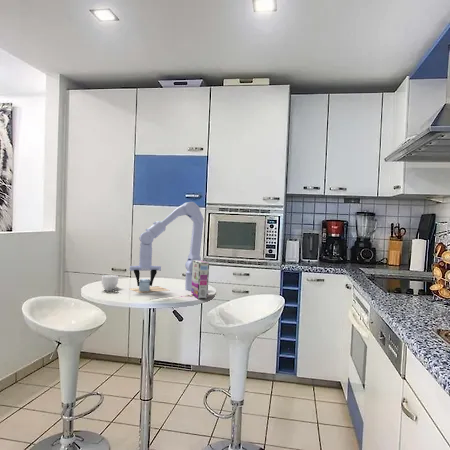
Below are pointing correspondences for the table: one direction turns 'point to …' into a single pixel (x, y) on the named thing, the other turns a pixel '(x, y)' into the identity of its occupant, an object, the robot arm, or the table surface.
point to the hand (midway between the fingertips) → (144, 285)
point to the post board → (152, 289)
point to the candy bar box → (200, 279)
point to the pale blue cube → (144, 285)
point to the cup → (109, 282)
